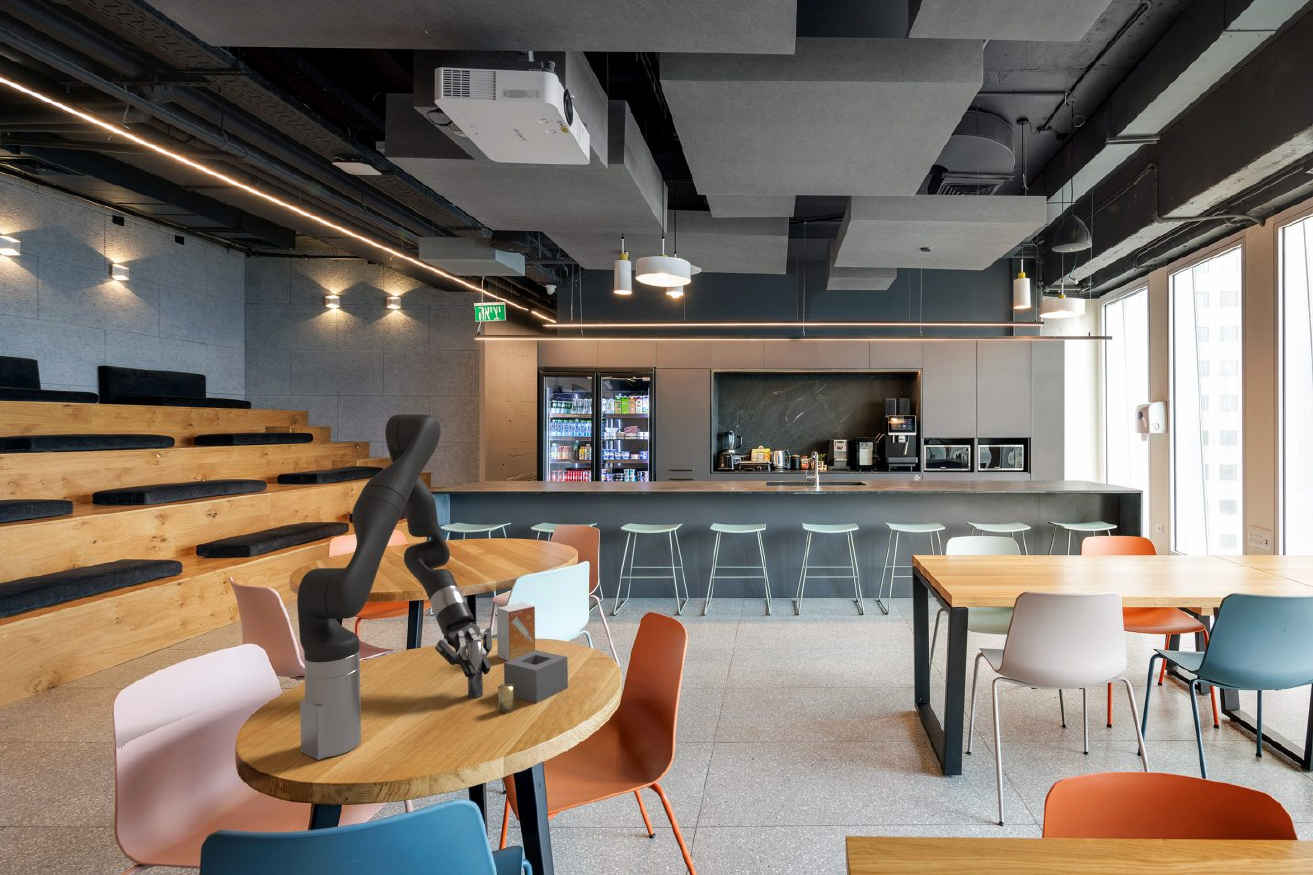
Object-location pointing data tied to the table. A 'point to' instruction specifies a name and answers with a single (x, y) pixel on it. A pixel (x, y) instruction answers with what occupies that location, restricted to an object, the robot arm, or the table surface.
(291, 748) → the table surface
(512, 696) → the brass pin
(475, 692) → the grey metal rod
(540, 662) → the collar block
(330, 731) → the robot arm
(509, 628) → the small box
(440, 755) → the table surface
